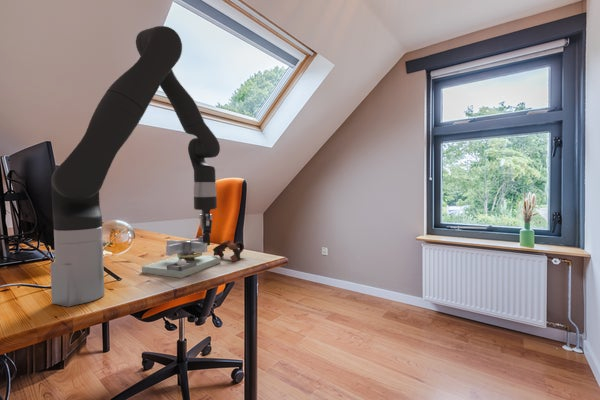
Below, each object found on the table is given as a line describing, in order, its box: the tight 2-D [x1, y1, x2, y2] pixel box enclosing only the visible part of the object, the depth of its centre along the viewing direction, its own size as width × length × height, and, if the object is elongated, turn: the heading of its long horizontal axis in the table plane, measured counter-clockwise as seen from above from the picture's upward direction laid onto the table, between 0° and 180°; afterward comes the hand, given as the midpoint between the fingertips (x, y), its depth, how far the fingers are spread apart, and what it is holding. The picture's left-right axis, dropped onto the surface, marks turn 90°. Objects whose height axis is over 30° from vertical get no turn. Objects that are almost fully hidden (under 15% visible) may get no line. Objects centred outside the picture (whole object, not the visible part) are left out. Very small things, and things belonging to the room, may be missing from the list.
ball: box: [177, 259, 186, 266], centre depth 89 cm, size 3×3×3 cm
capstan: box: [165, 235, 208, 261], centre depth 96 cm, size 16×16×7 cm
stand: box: [141, 254, 221, 279], centre depth 96 cm, size 19×16×3 cm
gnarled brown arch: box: [212, 239, 245, 263], centre depth 108 cm, size 12×10×8 cm
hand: (206, 245), depth 99 cm, fingers closed
